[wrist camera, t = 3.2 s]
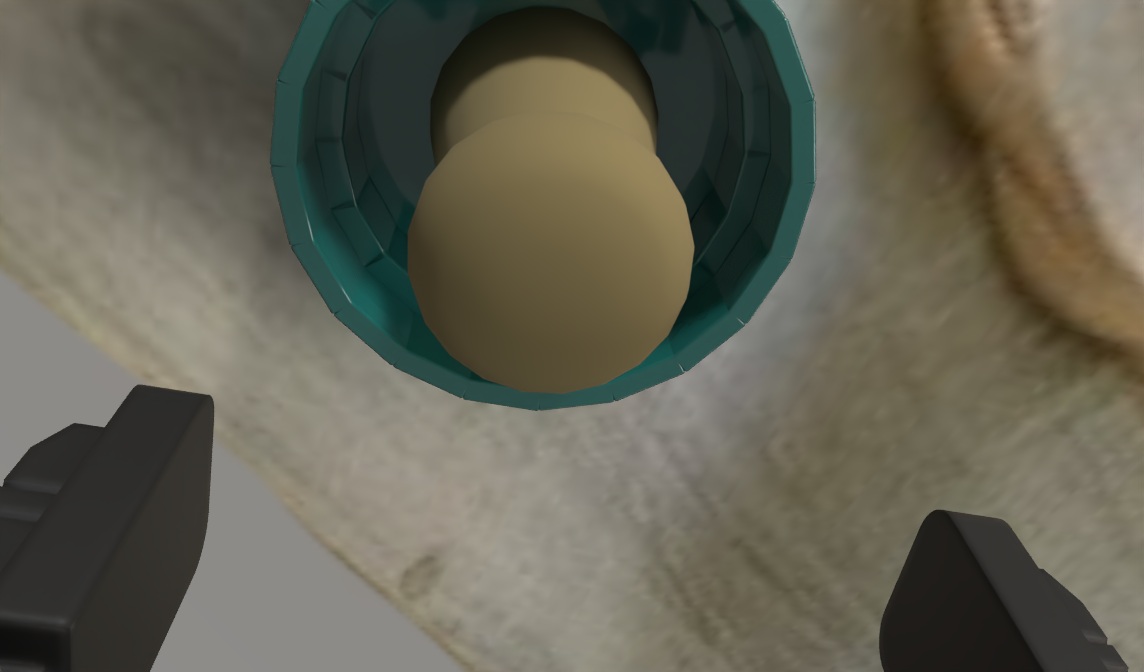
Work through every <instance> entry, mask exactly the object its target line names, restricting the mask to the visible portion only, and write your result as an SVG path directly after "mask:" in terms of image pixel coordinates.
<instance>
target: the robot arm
mask: <svg viewBox="0 0 1144 672" xmlns="http://www.w3.org/2000/svg"><path fill="white" fill-rule="evenodd" d="M213 428H214V402H213V399H212V397H211V396H210V395H205V394H199V393H192V392H186V391H179V390H173V389H166V388H160V387H153V386H147V385H137V386H135V387H134V388H133V389H132V391H131V392H130V393H129V395H128V396H127V398H126V399H125V400H124V401H123V403H122V404H121V406H120V407H119V408H118V410H117V411H116V413H115V414H114V415H113V417H112V418H111V420H110V421H109V422H108V424H107V425H106V426H105V427H98V426H91V425H85V424H77V423H74V424H72V425H70V426H68V427H66V428H64V429H63V430H61V431H59V432H57V433H55V434H54V435H52V436H50V437H48V438H47V439H45V440H43V441H41V442H39V443H37V444H36V445H34V446H32V447H30V449H29V450H28V451H27V452H26V454H25V455H24V456H23V457H22V458H21V460H20V461H19V462H18V463H17V464H16V466H15V467H14V468H13V469H12V471H11V472H10V473H9V474H8V475H7V477H6V478H5V479H4V484H3V486H2V487H1V486H0V672H150V670H151V668H152V665H153V663H154V661H155V659H156V657H157V655H158V652H159V650H160V648H161V646H162V643H163V641H164V639H165V637H166V635H167V633H168V631H169V628H170V626H171V624H172V622H173V620H174V618H175V615H176V613H177V611H178V609H179V607H180V604H181V602H182V600H183V598H184V596H185V593H186V591H187V589H188V587H189V585H190V583H191V580H192V578H193V576H194V574H195V571H196V569H197V566H198V563H199V560H200V556H201V552H202V549H203V544H204V540H205V535H206V529H207V522H208V513H209V496H210V479H211V462H212V444H213ZM1107 639H1108V638H1107V637H1106V635H1105V634H1104V633H1103V631H1102V630H1101V628H1100V627H1099V626H1098V624H1097V623H1096V621H1095V620H1094V618H1093V617H1092V616H1091V614H1090V613H1089V611H1088V610H1087V609H1086V607H1085V606H1084V604H1083V603H1082V602H1081V601H1080V600H1079V599H1077V598H1076V597H1075V596H1074V595H1073V594H1072V593H1071V592H1069V591H1068V590H1067V589H1066V588H1065V587H1064V586H1062V585H1061V584H1060V583H1059V582H1058V581H1057V580H1055V579H1054V578H1053V577H1052V576H1051V575H1050V574H1048V573H1047V572H1046V571H1045V570H1044V569H1039V568H1038V567H1037V565H1036V564H1035V562H1034V561H1033V559H1032V558H1031V556H1030V555H1029V553H1028V552H1027V550H1026V549H1025V548H1024V546H1023V545H1022V543H1021V542H1020V540H1019V539H1018V537H1017V536H1016V534H1015V533H1014V531H1013V530H1012V528H1011V527H1010V526H1009V525H1008V524H1007V523H1006V522H1005V521H1004V520H1001V519H998V518H991V517H985V516H978V515H972V514H965V513H959V512H952V511H946V510H935V511H933V512H931V513H930V514H929V515H928V516H927V517H926V518H925V520H924V521H923V523H922V525H921V527H920V529H919V531H918V534H917V536H916V538H915V541H914V543H913V545H912V548H911V550H910V552H909V555H908V557H907V559H906V562H905V564H904V566H903V569H902V571H901V574H900V576H899V578H898V581H897V583H896V585H895V588H894V590H893V592H892V595H891V597H890V599H889V602H888V604H887V606H886V609H885V611H884V614H883V617H882V621H881V627H880V636H879V649H880V658H881V663H882V667H883V669H884V672H1128V666H1127V665H1126V664H1125V662H1124V661H1123V659H1122V658H1121V657H1120V655H1119V654H1118V652H1117V651H1116V650H1115V648H1114V647H1113V646H1112V645H1107Z"/></svg>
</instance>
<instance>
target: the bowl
mask: <svg viewBox="0 0 1144 672" xmlns="http://www.w3.org/2000/svg"><path fill="white" fill-rule="evenodd" d="M532 6H535V7H550V8H565V9H572V10H574V11H576V12H579V13H581V14H584V15H586V16H588V17H591V18H593V19H596V20H598V21H601V22H603V23H605V24H606V25H607V26H608V27H610V28H611V29H612V30H613V31H614V32H615V33H616V34H618V35H619V36H620V37H621V38H622V39H623V40H625V41H626V42H627V43H628V44H629V45H630V46H631V47H633V49H634V51H635V52H636V54H637V56H638V58H639V59H640V61H641V63H642V64H643V66H644V68H645V70H646V71H647V73H648V75H649V76H650V78H651V81H652V86H653V90H654V95H655V100H656V105H657V109H658V114H659V115H658V131H657V147H656V156H657V157H658V158H659V159H660V161H661V163H662V164H663V166H664V167H665V169H666V171H667V172H668V174H669V176H670V177H671V179H672V181H673V182H674V184H675V186H676V187H677V189H678V191H679V192H680V194H681V196H682V198H683V200H684V202H685V204H686V208H687V213H688V218H689V223H690V227H691V232H692V237H693V242H694V254H693V262H692V270H691V277H690V285H689V290H688V294H687V298H686V300H685V302H684V304H683V306H682V308H681V310H680V313H679V315H678V317H677V319H676V321H675V323H674V325H673V327H672V329H671V331H670V333H669V335H668V336H667V337H666V338H665V339H664V340H663V341H662V342H661V343H660V344H659V345H658V346H657V347H656V348H655V349H654V350H653V351H652V353H651V354H650V355H649V356H648V357H647V358H646V359H645V360H644V361H643V362H642V363H641V364H640V365H638V366H636V367H634V368H633V369H631V370H629V371H627V372H625V373H624V374H622V375H620V376H618V377H617V378H615V379H613V380H611V381H609V382H608V383H606V384H603V385H599V386H595V387H591V388H586V389H582V390H578V391H574V392H569V393H565V394H559V393H536V392H521V391H518V390H515V389H512V388H509V387H506V386H503V385H500V384H497V383H494V382H491V381H488V380H485V379H483V378H482V377H480V376H479V375H477V374H476V373H474V372H473V371H471V370H470V369H469V368H467V367H466V366H464V365H463V364H461V363H460V362H459V361H457V360H456V359H454V358H453V357H451V356H450V355H449V354H448V352H447V351H446V350H445V348H444V347H443V346H442V345H441V343H440V342H439V341H438V339H437V338H436V337H435V335H434V334H433V333H432V332H431V330H430V329H429V328H428V326H427V325H426V324H425V322H424V319H423V316H422V313H421V311H420V308H419V305H418V302H417V299H416V296H415V293H414V290H413V288H412V285H411V282H410V279H409V276H408V229H409V226H410V223H411V221H412V218H413V215H414V212H415V209H416V207H417V204H418V201H419V198H420V195H421V193H422V190H423V187H424V184H425V181H426V179H427V178H428V177H429V176H430V174H431V173H432V172H433V171H434V169H435V162H434V156H433V150H432V144H431V138H430V109H431V97H432V95H433V92H434V89H435V86H436V83H437V80H438V77H439V74H440V71H441V68H442V66H443V64H444V63H445V62H446V60H447V59H448V58H449V57H450V55H451V54H452V53H453V51H454V50H455V49H456V48H457V46H458V45H459V44H460V42H461V41H462V40H463V38H464V37H465V36H467V35H468V34H470V33H471V32H473V31H474V30H476V29H477V28H479V27H480V26H482V25H483V24H485V23H486V22H488V21H489V20H491V19H492V18H494V17H495V16H498V15H502V14H505V13H509V12H513V11H517V10H520V9H524V8H528V7H532ZM270 165H271V168H270V169H271V173H272V177H273V181H274V185H275V189H276V193H277V197H278V201H279V205H280V209H281V212H282V216H283V220H284V224H285V228H286V232H287V236H288V240H289V243H290V245H292V246H291V248H292V250H293V252H294V253H295V255H296V256H297V258H298V260H299V261H300V263H301V264H302V266H303V268H304V269H305V271H306V272H307V274H308V276H309V277H310V279H311V280H312V282H313V284H314V285H315V287H316V288H317V290H318V292H319V293H320V295H321V296H322V298H323V300H324V301H325V303H326V304H327V306H328V308H329V309H330V311H331V312H332V313H334V316H335V317H336V318H337V319H338V320H340V321H341V322H342V323H343V324H344V325H345V326H347V327H348V328H349V329H350V330H351V331H352V332H353V333H355V334H356V335H357V336H358V337H359V338H360V339H361V340H363V341H364V342H365V343H366V344H367V345H368V346H369V347H371V348H372V349H373V350H374V351H375V352H376V353H378V354H379V355H380V356H381V357H382V358H383V359H384V360H386V361H387V362H388V363H389V364H390V365H393V366H394V367H395V368H397V369H399V370H401V371H403V372H405V373H408V374H410V375H412V376H414V377H416V378H419V379H421V380H423V381H425V382H427V383H429V384H432V385H434V386H436V387H438V388H440V389H442V390H445V391H447V392H449V393H451V394H453V395H455V396H458V397H460V398H463V399H465V400H471V401H477V402H484V403H490V404H496V405H503V406H509V407H516V408H522V409H528V410H535V411H538V410H541V411H542V410H551V409H559V408H568V407H576V406H585V405H593V404H602V403H610V402H614V400H615V401H618V400H621V399H623V398H625V397H628V396H630V395H633V394H635V393H638V392H640V391H642V390H645V389H647V388H650V387H652V386H655V385H657V384H659V383H662V382H664V381H667V380H669V379H672V378H674V377H676V376H679V375H681V374H683V373H684V372H685V371H686V372H687V371H688V370H690V369H691V368H692V367H693V366H695V365H696V364H697V363H699V362H700V361H701V360H702V359H704V358H705V357H706V356H707V355H709V354H710V353H711V352H712V351H714V350H715V349H716V348H717V347H719V346H720V345H721V344H722V343H724V342H725V341H726V340H728V339H729V338H730V337H731V336H733V335H734V334H735V333H736V332H738V331H739V330H740V329H741V328H743V327H744V326H745V323H746V324H747V323H748V322H749V320H750V319H751V317H752V316H753V314H754V313H755V312H756V310H757V309H758V307H759V306H760V304H761V303H762V302H763V300H764V299H765V297H766V296H767V294H768V293H769V292H770V290H771V289H772V287H773V286H774V284H775V283H776V282H777V280H778V279H779V277H780V276H781V274H782V273H783V272H784V270H785V269H786V267H787V266H788V264H789V263H790V259H792V257H793V254H794V251H795V248H796V245H797V242H798V239H799V235H800V232H801V229H802V226H803V223H804V220H805V216H806V213H807V210H808V207H809V204H810V201H811V198H812V194H813V191H814V188H815V182H816V102H815V100H814V93H813V90H812V87H811V84H810V82H809V79H808V76H807V73H806V70H805V67H804V64H803V62H802V59H801V56H800V53H799V50H798V47H797V44H796V41H795V39H794V36H793V33H792V30H791V27H790V24H789V21H788V19H787V18H785V14H784V12H783V11H782V10H781V9H780V7H779V6H778V5H777V4H776V2H775V1H774V0H311V2H310V4H309V6H308V9H307V11H306V13H305V15H304V18H303V20H302V22H301V25H300V27H299V29H298V31H297V34H296V36H295V38H294V40H293V43H292V45H291V47H290V50H289V52H288V54H287V56H286V59H285V61H284V63H283V66H282V68H281V70H280V72H279V75H278V80H277V82H276V90H275V102H274V115H273V128H272V141H271V153H270Z"/></svg>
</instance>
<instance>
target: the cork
mask: <svg viewBox="0 0 1144 672" xmlns="http://www.w3.org/2000/svg"><path fill="white" fill-rule="evenodd" d="M658 115H659V114H658V109H657V105H656V100H655V95H654V90H653V86H652V81H651V78H650V76H649V75H648V73H647V71H646V70H645V68H644V66H643V64H642V63H641V61H640V59H639V58H638V56H637V54H636V52H635V51H634V49H633V47H631V46H630V45H629V44H628V43H627V42H626V41H625V40H623V39H622V38H621V37H620V36H619V35H618V34H616V33H615V32H614V31H613V30H612V29H611V28H610V27H608V26H607V25H606V24H605V23H603V22H601V21H598V20H596V19H593V18H591V17H588V16H586V15H584V14H581V13H579V12H576V11H574V10H572V9H565V8H550V7H535V6H532V7H528V8H524V9H520V10H517V11H513V12H509V13H505V14H502V15H498V16H495V17H494V18H492V19H491V20H489V21H488V22H486V23H485V24H483V25H482V26H480V27H479V28H477V29H476V30H474V31H473V32H471V33H470V34H468V35H467V36H465V37H464V38H463V40H462V41H461V42H460V44H459V45H458V46H457V48H456V49H455V50H454V51H453V53H452V54H451V55H450V57H449V58H448V59H447V60H446V62H445V63H444V64H443V66H442V68H441V71H440V74H439V77H438V80H437V83H436V86H435V89H434V92H433V95H432V97H431V109H430V138H431V144H432V150H433V156H434V162H435V169H434V171H433V172H432V173H431V174H430V176H429V177H428V178H427V179H426V181H425V184H424V187H423V190H422V193H421V195H420V198H419V201H418V204H417V207H416V209H415V212H414V215H413V218H412V221H411V223H410V226H409V229H408V276H409V279H410V282H411V285H412V288H413V290H414V293H415V296H416V299H417V302H418V305H419V308H420V311H421V313H422V316H423V319H424V322H425V324H426V325H427V326H428V328H429V329H430V330H431V332H432V333H433V334H434V335H435V337H436V338H437V339H438V341H439V342H440V343H441V345H442V346H443V347H444V348H445V350H446V351H447V352H448V354H449V355H450V356H451V357H453V358H454V359H456V360H457V361H459V362H460V363H461V364H463V365H464V366H466V367H467V368H469V369H470V370H471V371H473V372H474V373H476V374H477V375H479V376H480V377H482V378H483V379H485V380H488V381H491V382H494V383H497V384H500V385H503V386H506V387H509V388H512V389H515V390H518V391H521V392H536V393H559V394H565V393H569V392H574V391H578V390H582V389H586V388H591V387H595V386H599V385H603V384H606V383H608V382H609V381H611V380H613V379H615V378H617V377H618V376H620V375H622V374H624V373H625V372H627V371H629V370H631V369H633V368H634V367H636V366H638V365H640V364H641V363H642V362H643V361H644V360H645V359H646V358H647V357H648V356H649V355H650V354H651V353H652V351H653V350H654V349H655V348H656V347H657V346H658V345H659V344H660V343H661V342H662V341H663V340H664V339H665V338H666V337H667V336H668V335H669V333H670V331H671V329H672V327H673V325H674V323H675V321H676V319H677V317H678V315H679V313H680V310H681V308H682V306H683V304H684V302H685V300H686V298H687V294H688V290H689V285H690V277H691V270H692V262H693V254H694V242H693V237H692V232H691V227H690V223H689V218H688V213H687V208H686V204H685V202H684V200H683V198H682V196H681V194H680V192H679V191H678V189H677V187H676V186H675V184H674V182H673V181H672V179H671V177H670V176H669V174H668V172H667V171H666V169H665V167H664V166H663V164H662V163H661V161H660V159H659V158H658V157H657V156H656V147H657V131H658Z"/></svg>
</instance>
